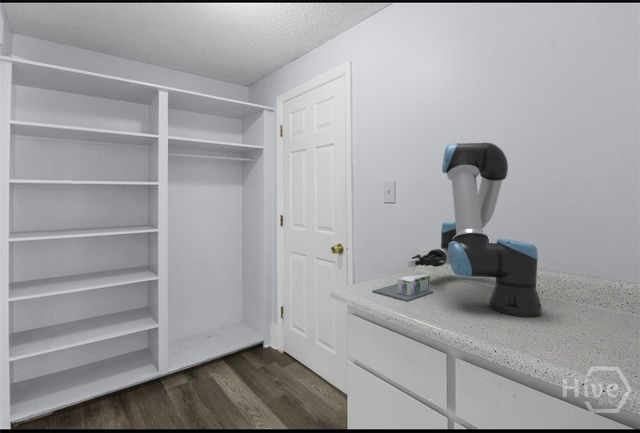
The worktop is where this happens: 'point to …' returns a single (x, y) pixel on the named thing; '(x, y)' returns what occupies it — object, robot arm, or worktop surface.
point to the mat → (392, 292)
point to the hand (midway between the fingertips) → (409, 263)
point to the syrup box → (413, 284)
